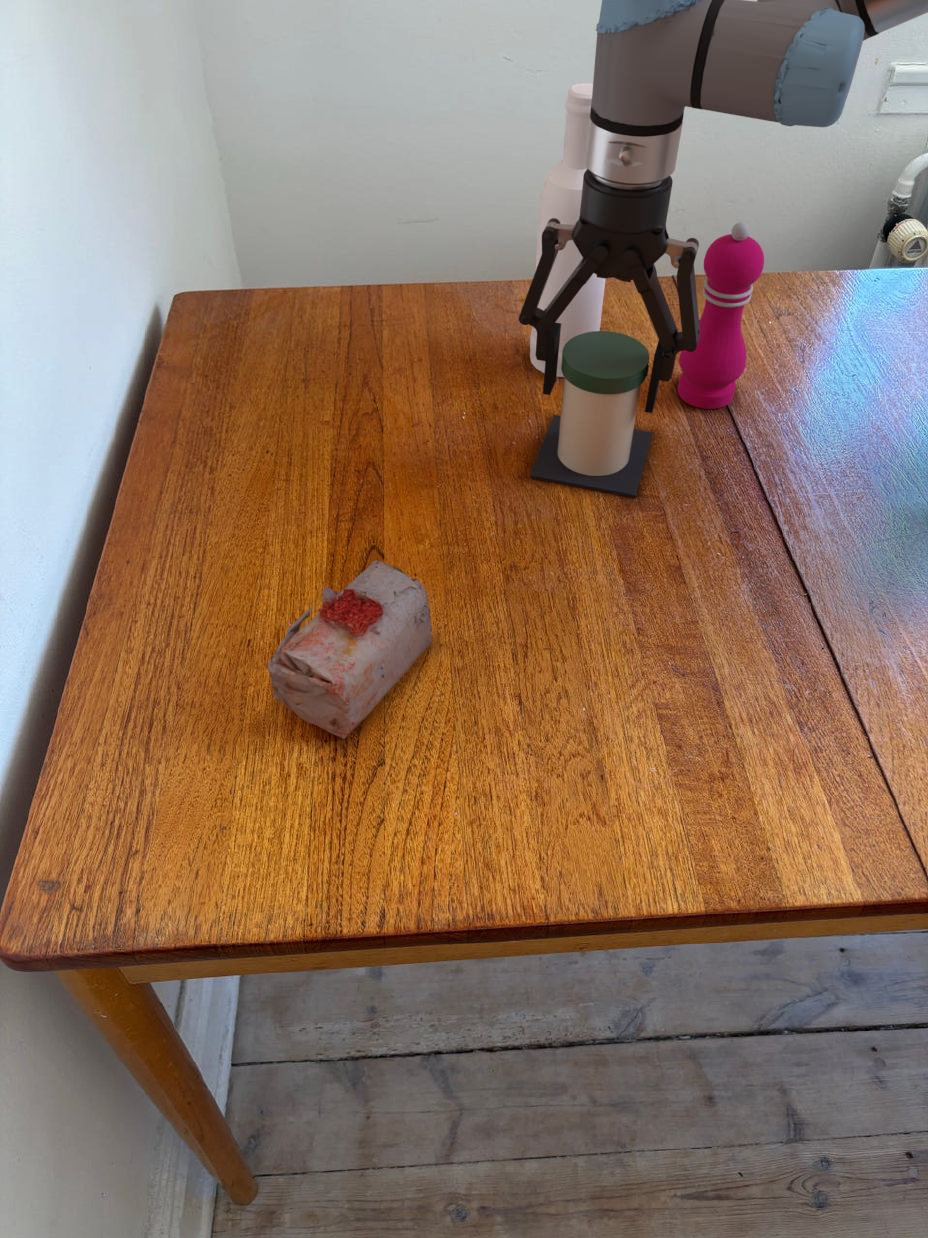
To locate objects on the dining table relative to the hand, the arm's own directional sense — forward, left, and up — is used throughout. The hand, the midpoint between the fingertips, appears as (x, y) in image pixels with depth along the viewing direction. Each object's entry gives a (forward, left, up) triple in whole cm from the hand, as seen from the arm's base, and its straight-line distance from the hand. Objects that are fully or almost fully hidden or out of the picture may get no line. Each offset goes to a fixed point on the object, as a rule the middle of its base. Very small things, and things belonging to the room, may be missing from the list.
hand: (599, 395), depth 101 cm
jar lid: (0, 0, +4) cm, 4 cm away
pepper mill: (-10, -15, -8) cm, 20 cm away
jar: (0, 0, -7) cm, 7 cm away
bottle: (+7, -17, -8) cm, 20 cm away
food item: (+13, +36, -8) cm, 39 cm away
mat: (0, 0, -8) cm, 8 cm away
